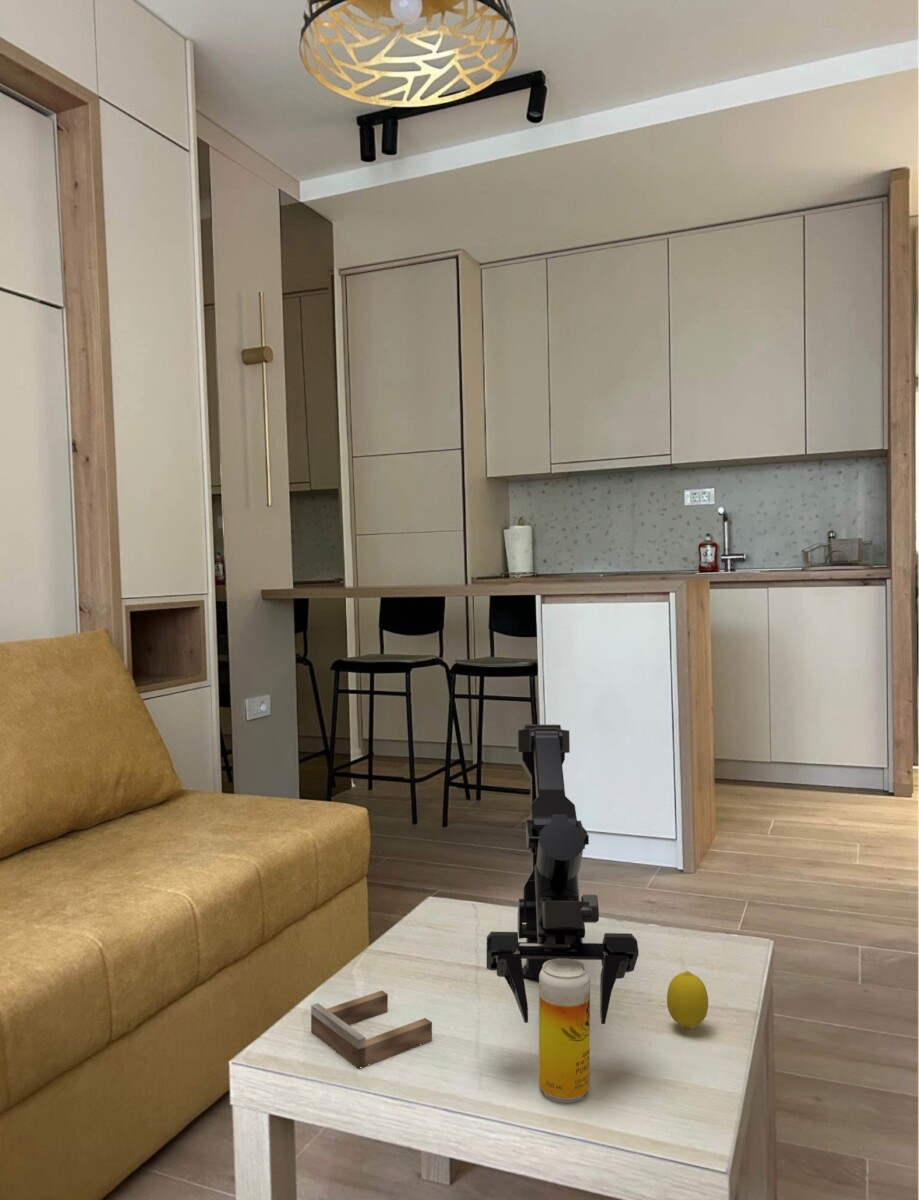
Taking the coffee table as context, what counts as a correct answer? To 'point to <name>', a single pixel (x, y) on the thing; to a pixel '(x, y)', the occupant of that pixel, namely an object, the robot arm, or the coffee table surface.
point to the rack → (352, 1044)
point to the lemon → (687, 1000)
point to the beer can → (564, 1029)
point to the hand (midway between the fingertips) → (564, 1022)
